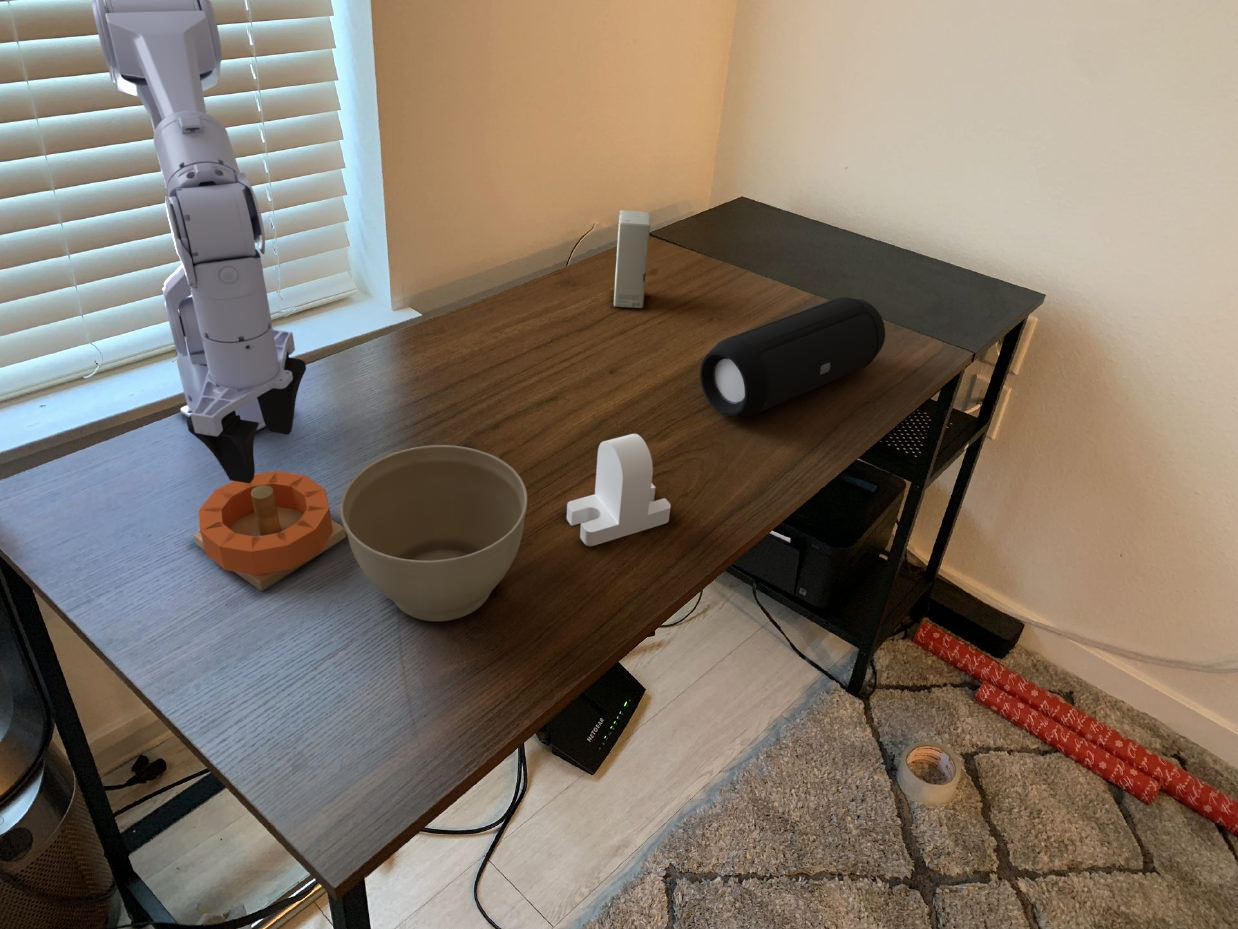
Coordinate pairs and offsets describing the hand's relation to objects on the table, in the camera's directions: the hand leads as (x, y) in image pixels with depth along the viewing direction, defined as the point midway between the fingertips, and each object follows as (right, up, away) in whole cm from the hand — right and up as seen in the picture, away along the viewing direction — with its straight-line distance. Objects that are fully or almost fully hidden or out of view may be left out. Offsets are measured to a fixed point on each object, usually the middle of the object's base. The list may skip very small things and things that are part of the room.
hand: (261, 454), depth 87 cm
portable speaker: (+55, +9, +35) cm, 66 cm away
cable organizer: (+33, -7, +12) cm, 36 cm away
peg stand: (-1, -8, +5) cm, 10 cm away
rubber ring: (-1, -8, +4) cm, 9 cm away
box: (+35, +23, +51) cm, 66 cm away
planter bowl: (+16, -13, +2) cm, 21 cm away
